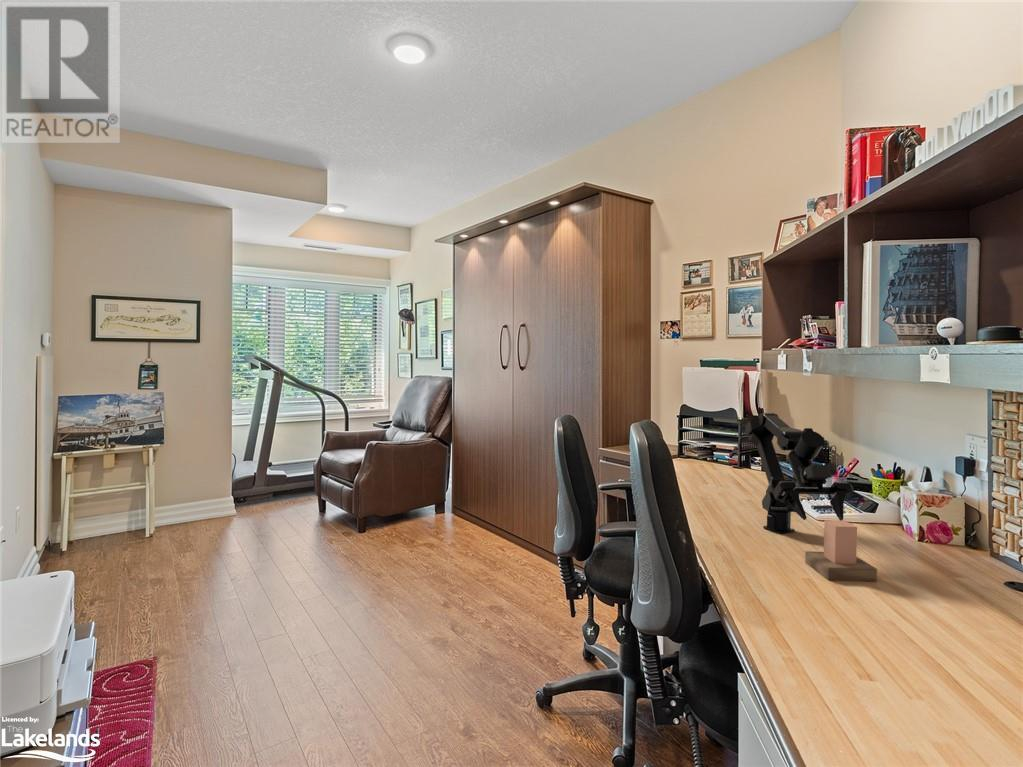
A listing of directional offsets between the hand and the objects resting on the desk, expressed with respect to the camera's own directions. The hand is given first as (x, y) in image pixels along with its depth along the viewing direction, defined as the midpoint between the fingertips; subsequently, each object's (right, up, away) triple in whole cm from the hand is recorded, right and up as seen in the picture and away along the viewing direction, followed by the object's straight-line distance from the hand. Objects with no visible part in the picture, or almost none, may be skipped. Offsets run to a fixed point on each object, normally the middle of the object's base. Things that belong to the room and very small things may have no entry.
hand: (823, 519), depth 137 cm
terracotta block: (0, -8, -7) cm, 11 cm away
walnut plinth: (0, -11, -7) cm, 13 cm away
